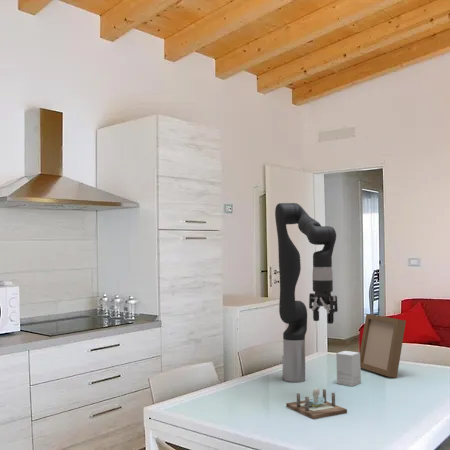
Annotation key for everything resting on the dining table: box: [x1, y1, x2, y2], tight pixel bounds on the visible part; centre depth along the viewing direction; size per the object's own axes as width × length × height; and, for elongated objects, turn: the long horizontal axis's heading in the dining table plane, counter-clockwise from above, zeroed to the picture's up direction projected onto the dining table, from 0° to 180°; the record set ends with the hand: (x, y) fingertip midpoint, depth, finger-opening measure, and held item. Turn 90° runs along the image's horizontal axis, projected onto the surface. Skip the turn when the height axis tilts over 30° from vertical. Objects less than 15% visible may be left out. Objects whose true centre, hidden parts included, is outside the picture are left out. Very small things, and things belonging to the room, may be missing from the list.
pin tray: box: [285, 389, 348, 420], centre depth 191 cm, size 16×14×6 cm
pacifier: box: [304, 387, 325, 407], centre depth 191 cm, size 7×6×6 cm
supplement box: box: [335, 350, 362, 387], centre depth 227 cm, size 7×7×13 cm
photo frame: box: [359, 313, 407, 379], centre depth 247 cm, size 15×22×25 cm
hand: (323, 322), depth 207 cm, fingers open, 8 cm apart
